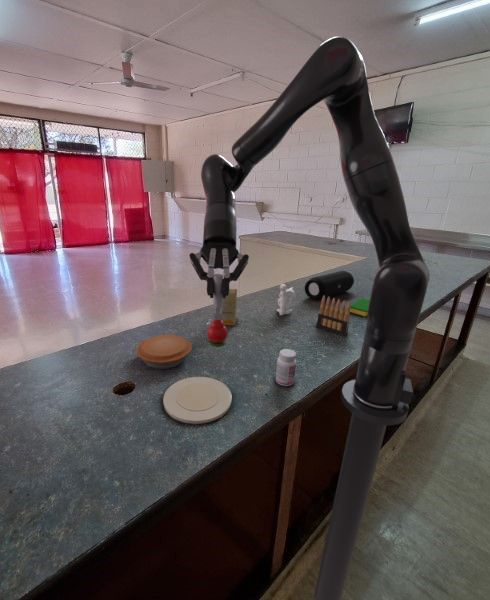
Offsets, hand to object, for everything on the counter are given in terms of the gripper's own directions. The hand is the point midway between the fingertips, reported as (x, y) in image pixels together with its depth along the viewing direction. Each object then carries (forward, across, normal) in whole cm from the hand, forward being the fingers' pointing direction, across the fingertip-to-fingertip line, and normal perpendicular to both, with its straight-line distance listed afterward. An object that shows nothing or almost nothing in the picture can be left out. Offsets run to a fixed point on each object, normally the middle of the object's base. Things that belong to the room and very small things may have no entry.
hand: (218, 296), depth 66 cm
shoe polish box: (-12, +3, +49) cm, 50 cm away
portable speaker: (-35, +49, +72) cm, 94 cm away
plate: (+19, -4, +18) cm, 26 cm away
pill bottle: (+13, +18, +24) cm, 32 cm away
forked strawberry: (+7, 0, +10) cm, 12 cm away
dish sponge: (-23, +59, +60) cm, 87 cm away
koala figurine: (-19, +25, +56) cm, 64 cm away
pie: (+6, -15, +31) cm, 35 cm away
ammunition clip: (-9, +39, +46) cm, 61 cm away
